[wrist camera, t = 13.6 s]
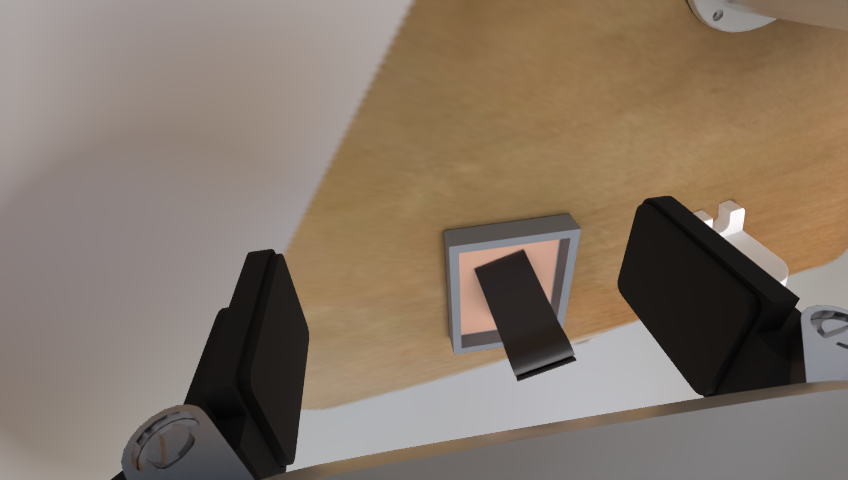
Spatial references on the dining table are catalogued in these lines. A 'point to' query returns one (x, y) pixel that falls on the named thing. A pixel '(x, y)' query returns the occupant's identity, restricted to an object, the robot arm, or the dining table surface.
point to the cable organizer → (744, 239)
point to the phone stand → (524, 316)
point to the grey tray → (478, 246)
